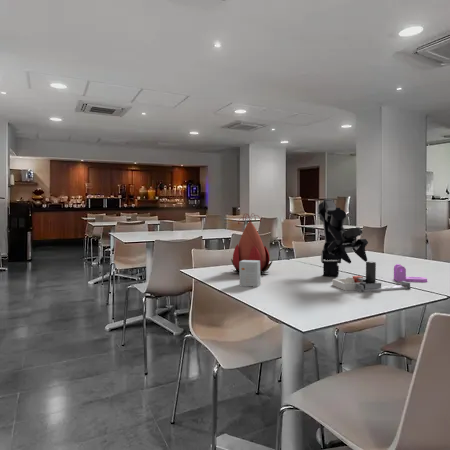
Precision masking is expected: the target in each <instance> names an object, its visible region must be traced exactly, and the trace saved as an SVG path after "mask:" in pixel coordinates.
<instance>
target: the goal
mask: <svg viewBox="0 0 450 450" xmlns="http://www.w3.org/2000/svg"><path fill="white" fill-rule="evenodd" d="M346 278H347V277H346ZM346 278H345V277H344V278H332V286H334V287H336V288H338V289H341V290H343V291H354V290H355V291H357V290H356V284H360V283H345V279H346Z"/></svg>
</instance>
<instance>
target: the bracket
mask: <svg viewBox="0 0 450 450" xmlns="http://www.w3.org/2000/svg"><path fill="white" fill-rule="evenodd" d="M394 279H395V280H394ZM393 280H394V281H395V282H401V281H405V282H409V283H427V282H428V278H427V277H424V276H407V269H406V267H405V266H403V265H401V264H399V263H396V264H394V267H393Z"/></svg>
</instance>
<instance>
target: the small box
mask: <svg viewBox="0 0 450 450" xmlns="http://www.w3.org/2000/svg"><path fill="white" fill-rule="evenodd" d="M238 273H239V274H238V275H239V286H240V285H241V286H240V287H247V286H253V288H258V287H260V286H261V284H262V283H261V282H262V281H261V280H262V279H261V273H260V260H242V261H240V262H239V272H238Z"/></svg>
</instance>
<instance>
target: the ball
mask: <svg viewBox="0 0 450 450" xmlns="http://www.w3.org/2000/svg"><path fill="white" fill-rule="evenodd" d="M344 279H345V278H344ZM345 283H355V281H354V279H353V277H351V276H348V277H346V279H345Z"/></svg>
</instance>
